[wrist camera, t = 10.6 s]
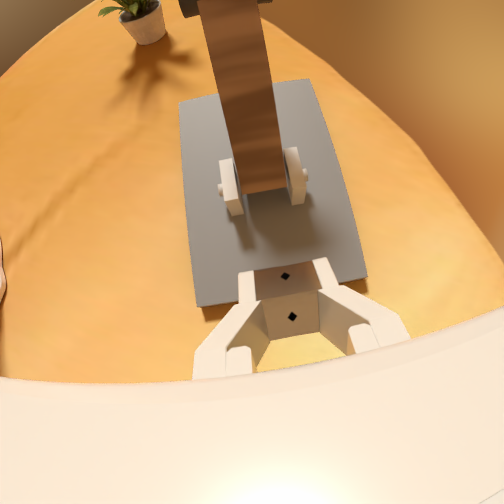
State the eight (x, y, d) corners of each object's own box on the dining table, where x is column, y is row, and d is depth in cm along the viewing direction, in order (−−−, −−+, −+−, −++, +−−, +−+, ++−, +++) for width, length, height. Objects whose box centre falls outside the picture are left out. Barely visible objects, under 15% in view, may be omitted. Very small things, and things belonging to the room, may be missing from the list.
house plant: (125, 81, 37) (75, 4, 22) (98, 51, 41) (58, -10, 25) (203, 32, 38) (178, -50, 22) (164, 10, 41) (138, -56, 25)
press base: (363, 278, 28) (380, 270, 23) (201, 307, 30) (183, 305, 24) (308, 86, 34) (310, 55, 28) (182, 109, 35) (168, 81, 30)
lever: (300, 185, 26) (266, -37, 13) (229, 198, 27) (173, -20, 14) (294, 168, 29) (261, -31, 16) (228, 180, 29) (180, -15, 16)
